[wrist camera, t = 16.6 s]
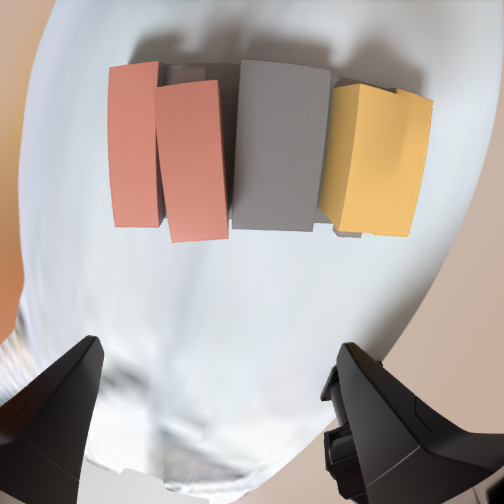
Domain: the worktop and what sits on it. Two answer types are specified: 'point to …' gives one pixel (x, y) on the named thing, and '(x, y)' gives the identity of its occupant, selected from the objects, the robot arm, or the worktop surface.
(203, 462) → the worktop surface
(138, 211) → the slot rack
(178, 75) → the brick plug
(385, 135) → the ochre plug
